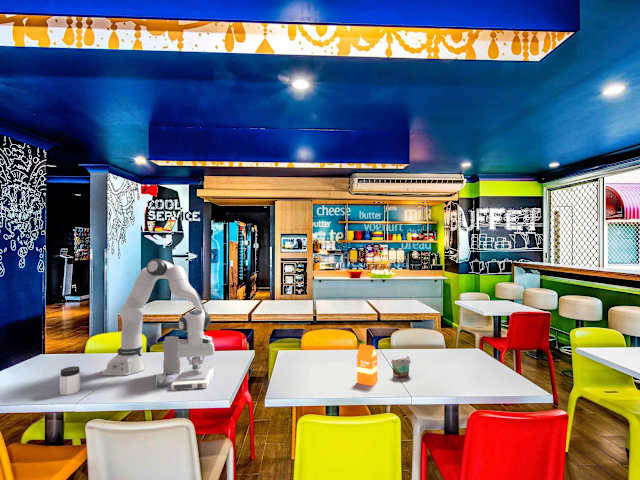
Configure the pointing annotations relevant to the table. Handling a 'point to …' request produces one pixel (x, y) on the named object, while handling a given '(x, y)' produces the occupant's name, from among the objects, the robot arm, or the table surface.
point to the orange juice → (366, 365)
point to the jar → (69, 380)
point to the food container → (401, 367)
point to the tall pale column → (171, 355)
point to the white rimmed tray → (193, 378)
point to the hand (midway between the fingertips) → (196, 363)
